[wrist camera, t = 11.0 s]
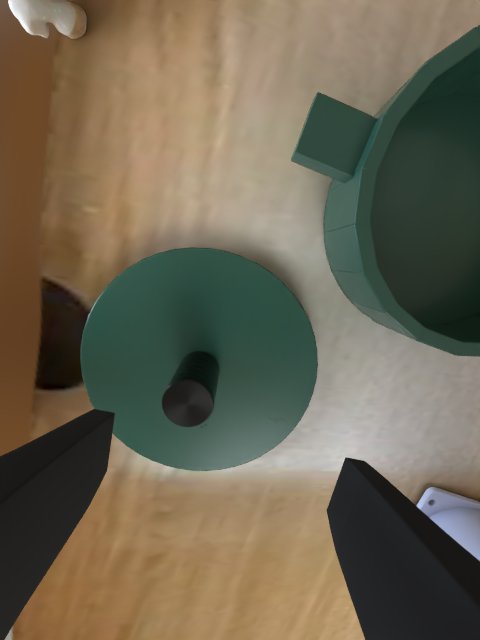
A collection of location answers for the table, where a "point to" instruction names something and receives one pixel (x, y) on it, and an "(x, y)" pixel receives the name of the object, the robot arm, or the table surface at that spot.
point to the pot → (407, 200)
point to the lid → (199, 358)
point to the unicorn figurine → (50, 16)
